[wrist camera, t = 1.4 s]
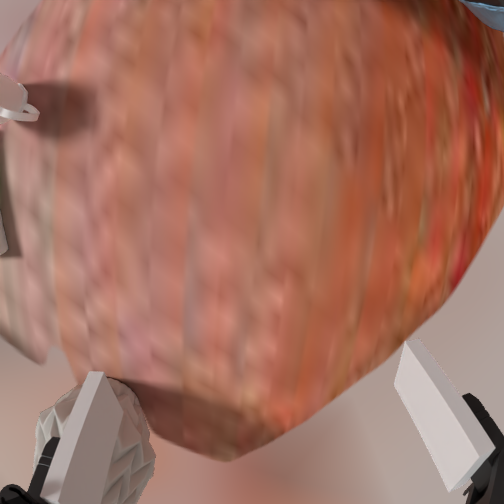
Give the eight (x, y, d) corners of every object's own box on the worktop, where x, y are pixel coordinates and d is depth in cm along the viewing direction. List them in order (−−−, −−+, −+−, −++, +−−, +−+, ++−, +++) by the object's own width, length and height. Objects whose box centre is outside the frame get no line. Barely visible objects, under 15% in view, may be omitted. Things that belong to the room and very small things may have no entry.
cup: (8, 67, 23) (-35, 60, 16) (65, 87, 26) (24, 80, 18) (-12, 121, 25) (-56, 126, 18) (41, 147, 28) (-2, 155, 20)
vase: (62, 407, 42) (7, 568, 11) (62, 339, 37) (-37, 546, 6) (154, 440, 45) (134, 613, 15) (176, 380, 40) (152, 620, 10)
